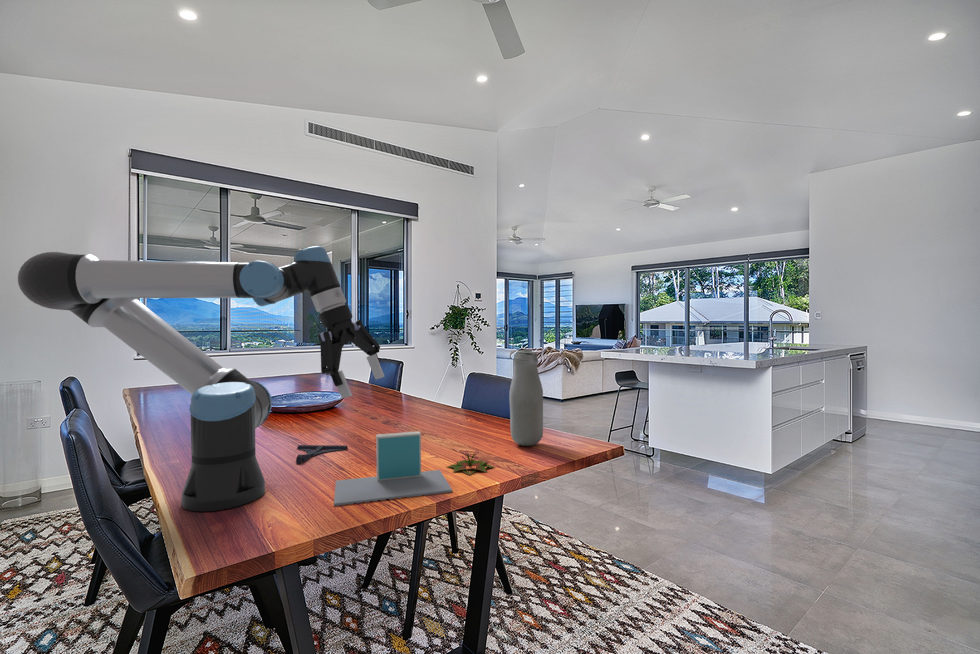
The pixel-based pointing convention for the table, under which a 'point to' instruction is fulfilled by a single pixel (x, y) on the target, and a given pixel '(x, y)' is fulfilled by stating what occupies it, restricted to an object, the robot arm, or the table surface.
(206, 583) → the table surface
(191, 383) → the robot arm
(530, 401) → the grey bottle
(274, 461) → the table surface
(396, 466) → the tile
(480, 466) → the lily flower
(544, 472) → the table surface
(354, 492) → the mat
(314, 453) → the bracket
